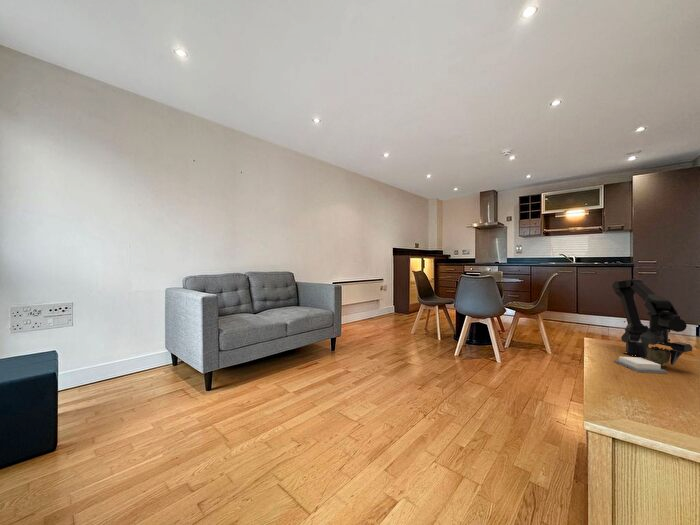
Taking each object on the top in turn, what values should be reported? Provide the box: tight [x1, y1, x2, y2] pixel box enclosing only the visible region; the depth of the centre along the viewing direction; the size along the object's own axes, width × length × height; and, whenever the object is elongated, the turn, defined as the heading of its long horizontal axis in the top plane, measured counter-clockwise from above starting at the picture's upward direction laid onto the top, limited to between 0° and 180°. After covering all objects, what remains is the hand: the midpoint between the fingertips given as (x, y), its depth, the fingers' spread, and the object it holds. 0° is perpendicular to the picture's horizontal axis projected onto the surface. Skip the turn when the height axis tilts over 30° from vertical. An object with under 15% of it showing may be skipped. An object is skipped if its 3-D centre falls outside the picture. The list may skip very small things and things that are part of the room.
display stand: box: [613, 356, 668, 374], centre depth 121 cm, size 12×11×3 cm
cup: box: [647, 345, 671, 368], centre depth 123 cm, size 8×7×8 cm
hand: (658, 360), depth 123 cm, fingers open, 9 cm apart
